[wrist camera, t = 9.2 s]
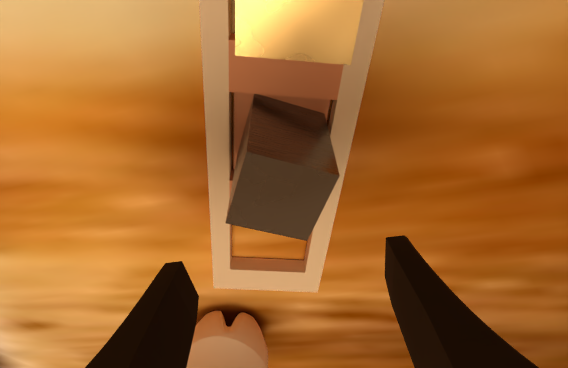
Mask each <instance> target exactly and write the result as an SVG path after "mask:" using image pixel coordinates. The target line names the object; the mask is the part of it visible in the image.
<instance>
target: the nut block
mask: <svg viewBox="0 0 568 368" xmlns="http://www.w3.org/2000/svg"><path fill="white" fill-rule="evenodd" d="M339 176H340V175H339V171H338V167H337V163H336V159H335V155H334V151H333V147H332V143H331V138H330V134H329V130H328V126H327V122H326V118H325V114H324V113H321V112H318V111H314V110H311V109H307V108H304V107H301V106H297V105H294V104H290V103H287V102H283V101H280V100H277V99H273V98H270V97H266V96H263V95H259V94H254V96H253V99H252V103H251V107H250V110H249V114H248V117H247V121H246V125H245V128H244V132H243V135H242V139H241V142H240V146H239V150H238V153H237V158H236V164H235V170H234V176H233V182H232V188H231V193H230V199H229V205H228V211H227V217H226V222H225V223H227V224H231V225H236V226H241V227H245V228H250V229H255V230H259V231H264V232H269V233H273V234H278V235H282V236H287V237H292V238H296V239H301V240H306V241H307V240H308V238H309V236H310V234H311V232H312V230H313V228H314V226H315V224H316V222H317V220H318V218H319V216H320V214H321V212H322V210H323V208H324V206H325V204H326V202H327V200H328V198H329V196H330V194H331V192H332V190H333V188H334V186H335V184H336V182H337V180H338V178H339Z"/></svg>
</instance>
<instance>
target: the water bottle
mask: <svg viewBox="0 0 568 368" xmlns="http://www.w3.org/2000/svg"><path fill="white" fill-rule="evenodd" d="M186 368H268V350H267V346H266V343H265V339H264V337H263V335H262V332H261V329H260V327H259V325H258V323H257V322H256V321H255V319H254V318H253V317H252V316H251V315H249V314H247V313H243V312H241V313H239V314H238V315H237V316H236V318H235V320H234V322H233V324H232V326H229V327H228V326H226V324H225V320H224V316H223V314H222V312H221V311H213V312H210V313H208V314H206V315H205V316H204V317H203V318H202V319H201V320H200V321H199V322H198V323H197V325H196V327H195V331H194V336H193V340H192V345H191V349H190V354H189V358H188V363H187V367H186Z"/></svg>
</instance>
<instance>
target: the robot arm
mask: <svg viewBox="0 0 568 368" xmlns="http://www.w3.org/2000/svg"><path fill="white" fill-rule="evenodd" d="M385 279H386V283H387V288H388V292H389V296H390V300H391V304H392V307H393V309H394V312H395V315H396V318H397V321H398V323H399V326H400V329H401V332H402V334H403V337H404V340H405V342H406V345H407V348H408V351H409V353H410V356H411V359H412V362H413V364H414V367H415V368H539V367H537V366H536V365H535V364H533V363H532V362H531V361H529V360H528V359H527V358H525V357H524V356H523V355H521V354H520V353H519V352H518V351H516V350H515V349H514V348H513V347H512V346H510V345H509V344H508V343H507V342H506V341H504V340H503V339H502V338H501V337H500V336H498V335H497V334H496V333H495V332H494V331H493V330H492V329H491V328H489V327H488V326H487V325H486V324H485V323H484V322H483V321H482V320H481V319H479V318H478V317H477V316H476V315H475V314H474V313H473V312H472V311H471V310H470V309H469V308H468V307H467V306H466V305H465V304H464V303H463V302H462V301H461V300H460V299H459V298H458V297H457V296H456V295H455V294H454V293H453V292H452V291H451V290H450V289H449V287H448V286H447V285H446V284H445V283H444V282H443V281H442V280H441V279H440V278H439V276H438V275H437V274H436V273H435V272H434V271H433V270H432V269H431V267H430V266H429V265H428V264H427V263H426V261H425V260H424V259H423V258H422V256H421V255H420V254H419V253H418V251H417V250H416V249H415V248H414V246H413V245H412V244H411V242H410V241H409V239H408V238H407V237H406V236H395V237H387V238H386V253H385ZM198 299H199V296H198V294H197V292H196V290H195V288H194V285H193V283H192V281H191V279H190V277H189V275H188V273H187V271H186V269H185V267H184V265H183V263H182V261H180V262H172V263H165V265H164V266H163V267H162V269H161V270H160V271H159V273H158V274H157V276H156V277H155V279H154V280H153V281H152V283H151V284H150V286H149V287H148V289H147V290H146V291H145V293H144V294H143V296H142V297H141V298H140V300H139V301H138V303H137V304H136V305H135V307H134V308H133V309H132V311H131V312H130V314H129V315H128V316H127V318H126V319H125V320H124V322H123V323H122V324H121V325H120V327H119V328H118V329H117V330H116V332H115V333H114V334H113V335H112V337H111V338H110V339H109V341H108V342H107V343H106V344H105V345H104V347H103V348H102V349H101V350H100V351H99V353H98V354H97V355H96V356H95V357H94V358H93V359H92V361H91V362H90V363H89V364H88V365H87V366H86V367H85V368H186V367H187V363H188V358H189V354H190V349H191V345H192V340H193V336H194V331H195V327H196V320H197V310H198Z"/></svg>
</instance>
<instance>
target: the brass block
mask: <svg viewBox="0 0 568 368" xmlns="http://www.w3.org/2000/svg"><path fill="white" fill-rule="evenodd" d="M363 1H364V0H235V56H246V57H258V58H270V59H283V60H295V61H307V62H319V63H331V64H343V65H351V62H352V57H353V52H354V47H355V41H356V36H357V31H358V26H359V21H360V16H361V11H362V6H363Z"/></svg>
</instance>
